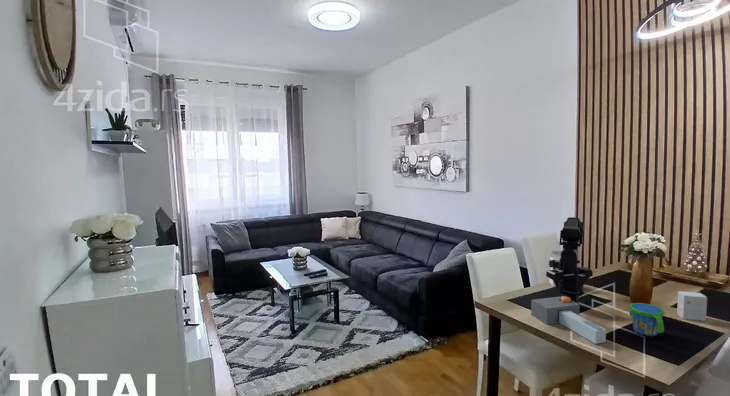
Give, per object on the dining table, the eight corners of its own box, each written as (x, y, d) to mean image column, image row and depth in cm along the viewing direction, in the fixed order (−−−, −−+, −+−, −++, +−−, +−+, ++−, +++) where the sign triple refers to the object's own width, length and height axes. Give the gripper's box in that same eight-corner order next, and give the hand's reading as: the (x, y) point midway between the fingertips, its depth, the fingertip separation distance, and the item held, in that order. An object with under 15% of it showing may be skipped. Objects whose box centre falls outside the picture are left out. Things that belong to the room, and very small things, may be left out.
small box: (699, 316, 158) (700, 292, 157) (706, 321, 153) (707, 297, 151) (676, 313, 160) (677, 290, 159) (682, 319, 155) (684, 295, 154)
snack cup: (673, 343, 136) (675, 316, 135) (642, 341, 137) (643, 315, 136) (648, 324, 151) (649, 300, 150) (620, 323, 153) (621, 299, 152)
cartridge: (567, 321, 155) (568, 309, 155) (605, 342, 137) (606, 328, 136) (558, 322, 154) (559, 310, 154) (595, 343, 136) (595, 330, 135)
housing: (562, 311, 166) (562, 296, 166) (579, 320, 156) (579, 304, 156) (531, 314, 163) (531, 299, 162) (546, 324, 153) (547, 308, 152)
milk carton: (567, 287, 196) (568, 253, 194) (553, 286, 197) (553, 252, 196) (562, 283, 203) (563, 249, 201) (549, 282, 204) (550, 249, 202)
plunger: (566, 302, 162) (566, 295, 162) (572, 305, 159) (572, 298, 159) (559, 303, 162) (559, 296, 161) (565, 306, 158) (565, 299, 158)
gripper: (574, 251, 165) (572, 284, 166) (537, 254, 161) (537, 288, 162) (594, 257, 154) (593, 293, 155) (556, 261, 150) (555, 297, 151)
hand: (568, 292), depth 156 cm, fingers open, 9 cm apart
